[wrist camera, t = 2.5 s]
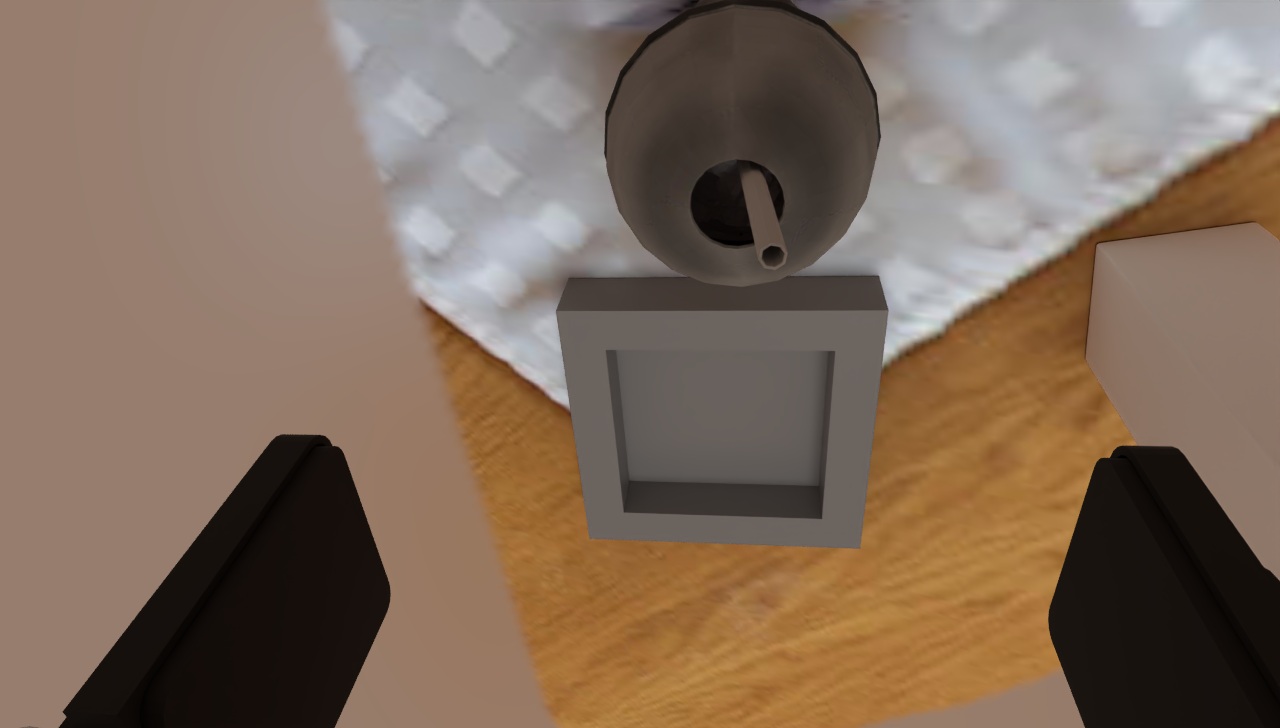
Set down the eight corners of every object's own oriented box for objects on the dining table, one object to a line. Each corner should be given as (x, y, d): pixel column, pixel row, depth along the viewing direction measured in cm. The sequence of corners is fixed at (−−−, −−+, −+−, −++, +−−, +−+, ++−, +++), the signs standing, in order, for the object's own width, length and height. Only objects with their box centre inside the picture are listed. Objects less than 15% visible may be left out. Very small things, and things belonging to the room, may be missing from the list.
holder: (568, 278, 37) (555, 311, 35) (878, 276, 35) (888, 310, 33) (598, 499, 45) (589, 538, 43) (853, 507, 43) (859, 548, 41)
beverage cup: (614, 76, 32) (469, 352, 15) (714, -106, 28) (664, 4, 12) (765, 171, 33) (780, 515, 17) (881, 10, 29) (1046, 255, 13)
